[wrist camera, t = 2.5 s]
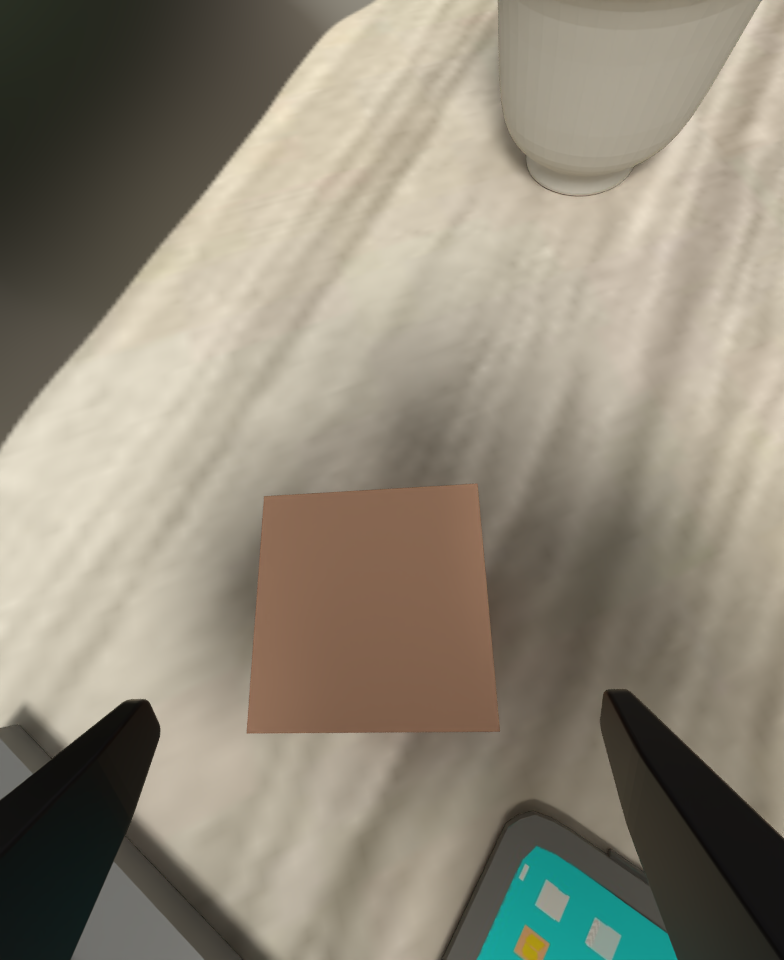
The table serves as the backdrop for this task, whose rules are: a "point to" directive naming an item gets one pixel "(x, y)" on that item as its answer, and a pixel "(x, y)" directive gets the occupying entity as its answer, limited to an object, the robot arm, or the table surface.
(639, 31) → the teacup
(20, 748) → the dock board
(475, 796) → the table surface
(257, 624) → the terracotta block
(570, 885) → the smartphone
